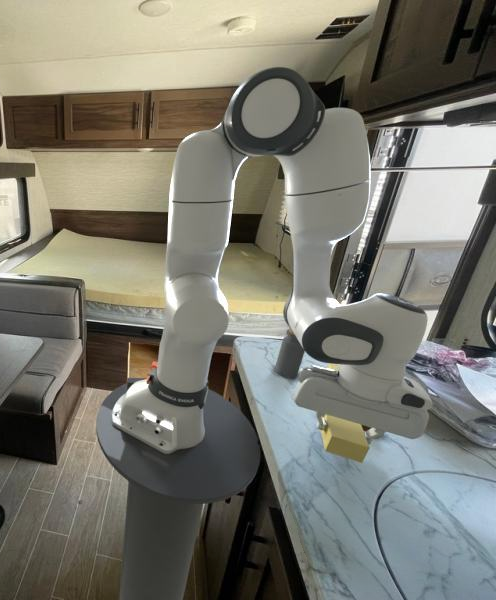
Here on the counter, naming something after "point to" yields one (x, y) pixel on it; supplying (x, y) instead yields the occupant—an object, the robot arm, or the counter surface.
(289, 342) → the bottle
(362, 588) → the counter surface
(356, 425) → the foam pad
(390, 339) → the robot arm
